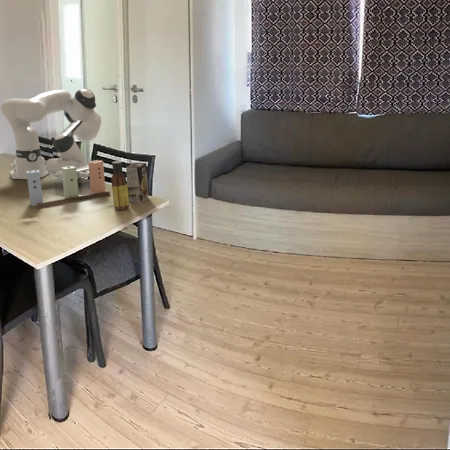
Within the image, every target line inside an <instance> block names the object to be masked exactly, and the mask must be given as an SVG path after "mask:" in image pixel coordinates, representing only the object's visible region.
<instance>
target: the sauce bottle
mask: <svg viewBox="0 0 450 450" xmlns="http://www.w3.org/2000/svg"><path fill="white" fill-rule="evenodd" d="M111 166H112V171H113V172H112V173H113V174H112V175H111V181H110V182H111V189H112V190H111V191H112V197H113V198H112V199H113V200H112V201H113V206H114V209H115V210H117V211H125V210H128V209H129V208H130V203H129V197H128V188H127V176H125V174H124V171H123V162H122V161H121V160H114V161H112V162H111Z"/></svg>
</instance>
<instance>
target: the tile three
mask: <svg viewBox="0 0 450 450" xmlns="http://www.w3.org/2000/svg"><path fill="white" fill-rule="evenodd" d="M87 163H88V164H89V175H90V177H89V183H90V193H91V194H94V193H99V192H105V191H106V182H105V181H106V180H105V169H104V161H103V160H99V159H96V160H91V161H88V162H87Z"/></svg>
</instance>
